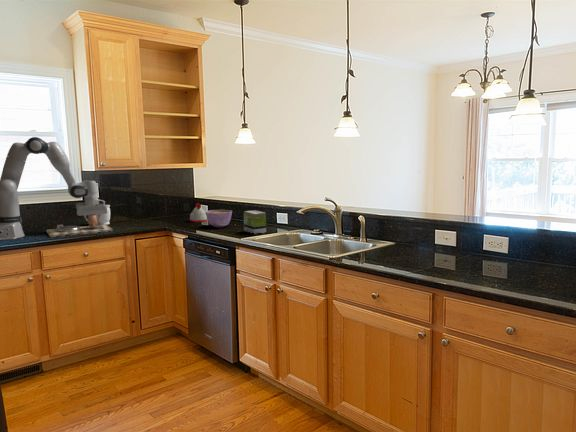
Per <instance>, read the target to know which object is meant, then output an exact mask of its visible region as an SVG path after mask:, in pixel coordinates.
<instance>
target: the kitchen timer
mask: <svg viewBox="0 0 576 432" xmlns="http://www.w3.org/2000/svg"><path fill="white" fill-rule="evenodd" d="M189 222H190V223H205V222H208V219H207V216H206V211H205V210H204V209H203V208H202V207H201V204H200V203H199V202H197V203H196V204H195V207H194V208H193V209H192V211H191V213H190V214H189Z"/></svg>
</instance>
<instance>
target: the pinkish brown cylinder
mask: <svg viewBox="0 0 576 432" xmlns="http://www.w3.org/2000/svg"><path fill="white" fill-rule="evenodd" d="M87 219H88V221H87V222H88V226H89V227H96V226H98V225H99V224H98V223H99V222H98V221H97V214H95V215H87Z"/></svg>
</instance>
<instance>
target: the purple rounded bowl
mask: <svg viewBox="0 0 576 432" xmlns="http://www.w3.org/2000/svg"><path fill="white" fill-rule="evenodd" d="M205 212H206V216H207V222H208V224H209V225H210V226H213V227H214V228H225V227H226V226H228V225H229V224H230V222H231V219H232V214H233V210H230V209H229V210H228V209H211V210H207V211H205Z"/></svg>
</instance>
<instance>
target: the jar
mask: <svg viewBox="0 0 576 432" xmlns="http://www.w3.org/2000/svg"><path fill="white" fill-rule="evenodd" d="M105 205H106V207H107V214H101V216H100V218H99V219H100V220H98V221H97V222H98V225H107V226H108V225H110V224H111V223H110V220H111V208H110V207H111V205H110V204H105ZM98 217H99V215H98V214H97V218H98Z"/></svg>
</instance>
